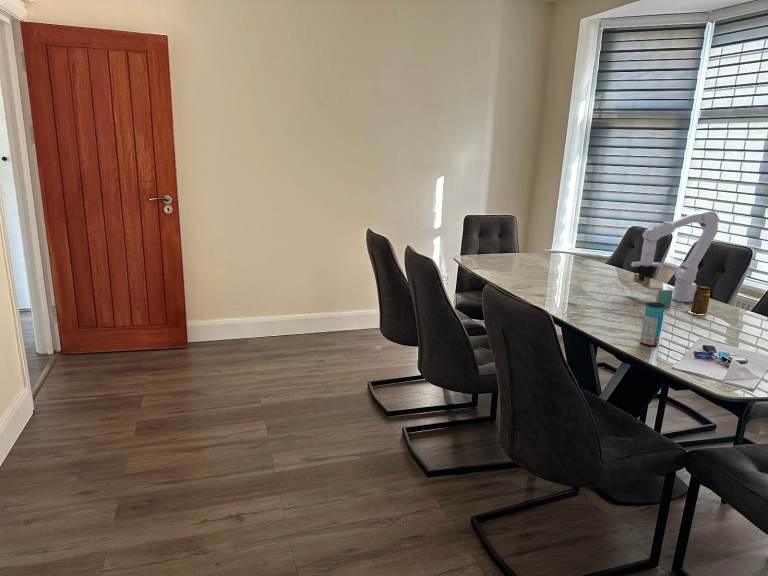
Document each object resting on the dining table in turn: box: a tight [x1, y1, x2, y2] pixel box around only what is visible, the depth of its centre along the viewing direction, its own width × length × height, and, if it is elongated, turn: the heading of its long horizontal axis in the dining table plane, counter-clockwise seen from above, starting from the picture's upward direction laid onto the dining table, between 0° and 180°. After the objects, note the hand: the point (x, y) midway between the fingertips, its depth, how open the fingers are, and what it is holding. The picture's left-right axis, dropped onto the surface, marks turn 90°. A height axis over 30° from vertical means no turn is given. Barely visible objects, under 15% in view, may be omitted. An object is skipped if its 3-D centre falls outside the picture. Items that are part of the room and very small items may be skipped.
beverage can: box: [639, 301, 666, 348], centre depth 188 cm, size 6×6×15 cm
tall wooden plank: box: [633, 273, 664, 291], centre depth 255 cm, size 17×6×4 cm, turn 7°
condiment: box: [684, 285, 711, 316], centre depth 234 cm, size 7×8×12 cm
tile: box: [654, 289, 674, 308], centre depth 242 cm, size 7×1×8 cm, turn 98°
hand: (643, 281), depth 257 cm, fingers closed on tall wooden plank, 2 cm apart
